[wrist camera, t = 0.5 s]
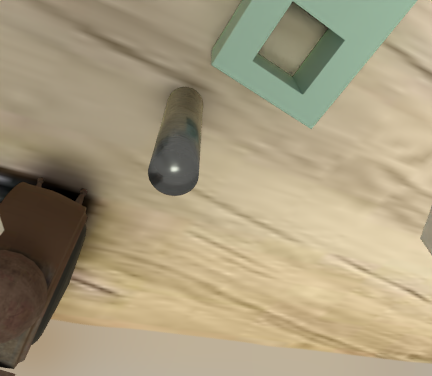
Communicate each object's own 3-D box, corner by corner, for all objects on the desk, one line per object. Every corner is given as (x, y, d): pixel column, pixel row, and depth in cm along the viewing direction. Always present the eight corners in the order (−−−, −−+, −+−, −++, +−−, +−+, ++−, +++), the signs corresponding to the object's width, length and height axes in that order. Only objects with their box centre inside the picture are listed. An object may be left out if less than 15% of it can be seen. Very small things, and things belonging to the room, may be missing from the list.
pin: (161, 109, 34) (139, 181, 24) (178, 80, 33) (163, 142, 23) (191, 126, 35) (182, 203, 25) (209, 98, 34) (208, 167, 23)
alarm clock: (70, 274, 44) (-18, 482, 27) (4, 251, 42) (-135, 459, 25) (116, 174, 38) (37, 368, 21) (39, 141, 36) (-118, 325, 19)
